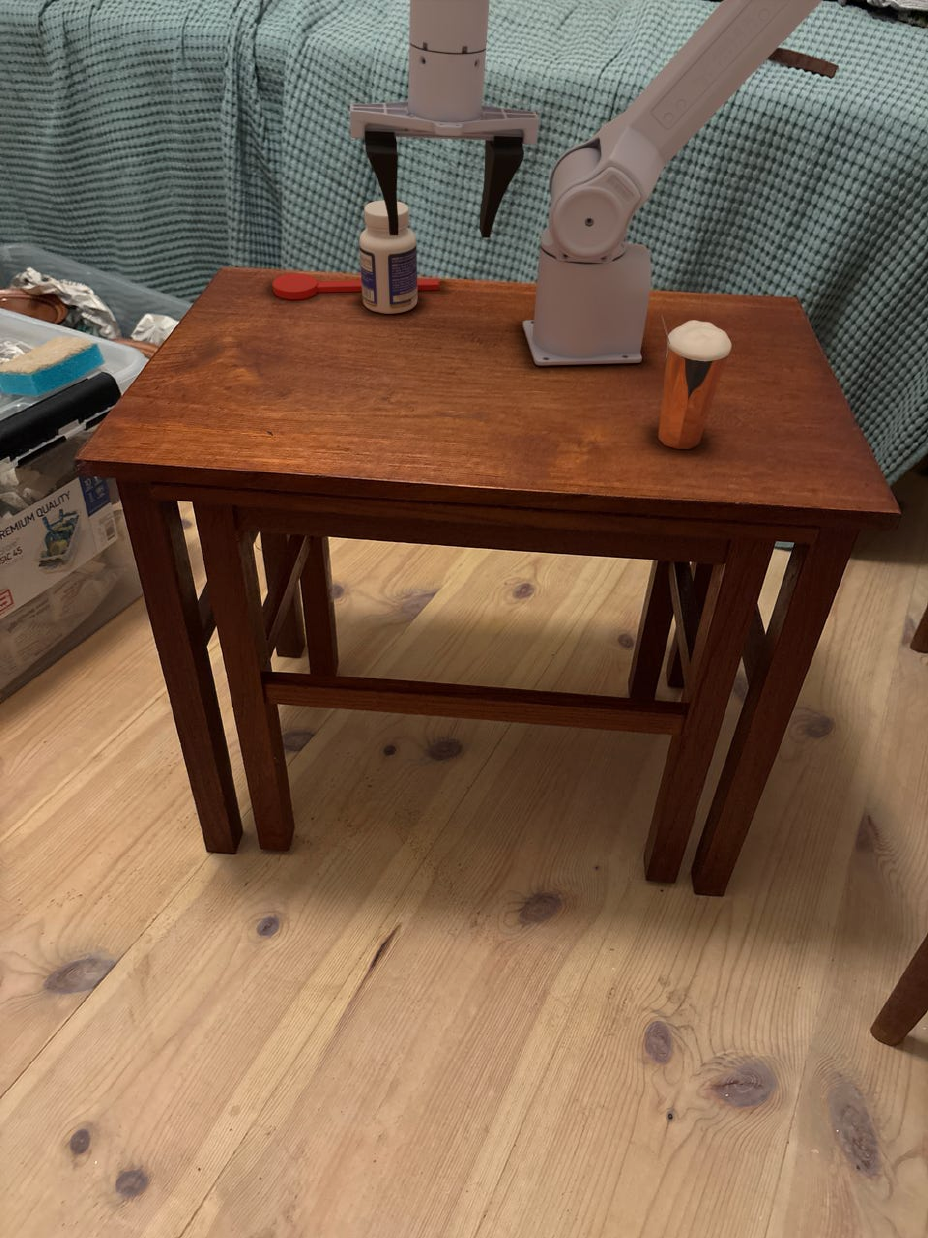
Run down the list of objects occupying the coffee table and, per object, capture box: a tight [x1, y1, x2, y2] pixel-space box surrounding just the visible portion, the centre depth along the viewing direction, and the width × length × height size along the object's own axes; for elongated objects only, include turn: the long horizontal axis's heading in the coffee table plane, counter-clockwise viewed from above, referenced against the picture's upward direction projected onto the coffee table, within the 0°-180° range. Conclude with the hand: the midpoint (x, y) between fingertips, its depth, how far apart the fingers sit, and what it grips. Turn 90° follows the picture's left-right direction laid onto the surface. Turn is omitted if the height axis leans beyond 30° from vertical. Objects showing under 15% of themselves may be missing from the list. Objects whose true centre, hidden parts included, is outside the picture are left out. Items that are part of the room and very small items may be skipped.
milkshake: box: [657, 316, 732, 450], centre depth 69 cm, size 4×5×10 cm
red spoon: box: [272, 272, 440, 300], centre depth 90 cm, size 16×4×1 cm, turn 96°
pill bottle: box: [358, 200, 418, 315], centre depth 86 cm, size 5×5×9 cm
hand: (439, 231), depth 77 cm, fingers open, 7 cm apart
